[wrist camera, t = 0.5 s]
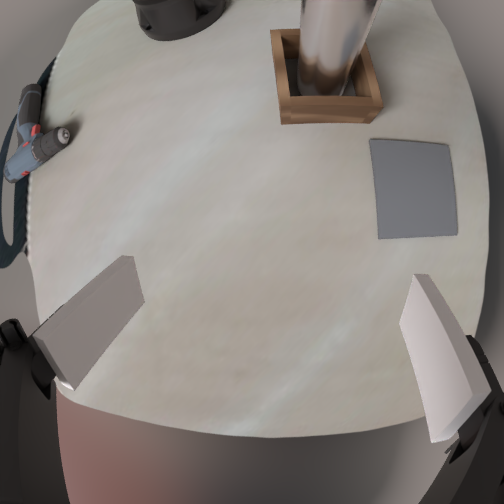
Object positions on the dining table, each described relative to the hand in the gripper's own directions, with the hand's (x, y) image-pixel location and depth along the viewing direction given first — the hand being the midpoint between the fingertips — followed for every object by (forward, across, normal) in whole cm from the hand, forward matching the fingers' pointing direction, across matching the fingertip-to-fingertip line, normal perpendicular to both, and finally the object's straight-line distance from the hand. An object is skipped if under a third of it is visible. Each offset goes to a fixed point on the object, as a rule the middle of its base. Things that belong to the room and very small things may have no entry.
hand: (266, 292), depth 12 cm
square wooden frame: (+29, +4, +14) cm, 32 cm away
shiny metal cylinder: (+29, +4, +14) cm, 33 cm away
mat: (+26, +17, 0) cm, 31 cm away
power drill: (+26, -46, +15) cm, 55 cm away
